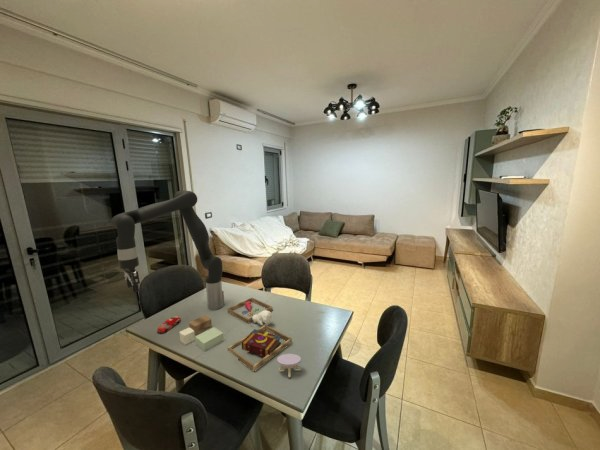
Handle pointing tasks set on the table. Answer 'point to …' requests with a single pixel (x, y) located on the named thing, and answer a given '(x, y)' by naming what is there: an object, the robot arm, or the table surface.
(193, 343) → the baseplate
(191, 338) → the cream brick
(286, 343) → the book tray
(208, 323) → the walnut brick
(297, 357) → the toy table
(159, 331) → the race car
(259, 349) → the decorative book
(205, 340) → the base brick
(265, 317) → the cream lumpy sculpture
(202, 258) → the robot arm
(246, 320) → the pieces tray
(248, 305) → the toy pieces
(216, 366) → the table surface
